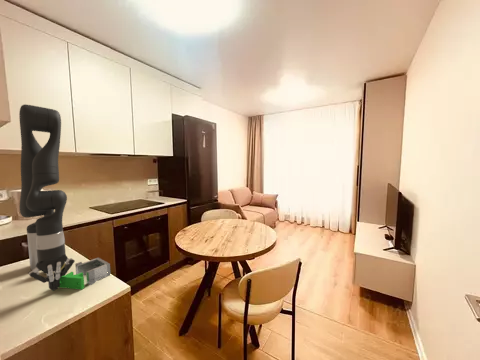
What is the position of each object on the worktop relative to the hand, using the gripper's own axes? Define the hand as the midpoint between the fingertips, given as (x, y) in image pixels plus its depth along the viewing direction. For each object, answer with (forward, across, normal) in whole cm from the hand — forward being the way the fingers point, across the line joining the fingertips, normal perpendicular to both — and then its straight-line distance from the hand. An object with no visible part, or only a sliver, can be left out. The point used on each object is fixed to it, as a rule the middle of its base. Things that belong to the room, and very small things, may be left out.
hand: (54, 289), depth 74 cm
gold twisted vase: (+1, -5, -19) cm, 20 cm away
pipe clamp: (+1, -5, +1) cm, 6 cm away
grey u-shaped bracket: (+1, -13, 0) cm, 13 cm away
